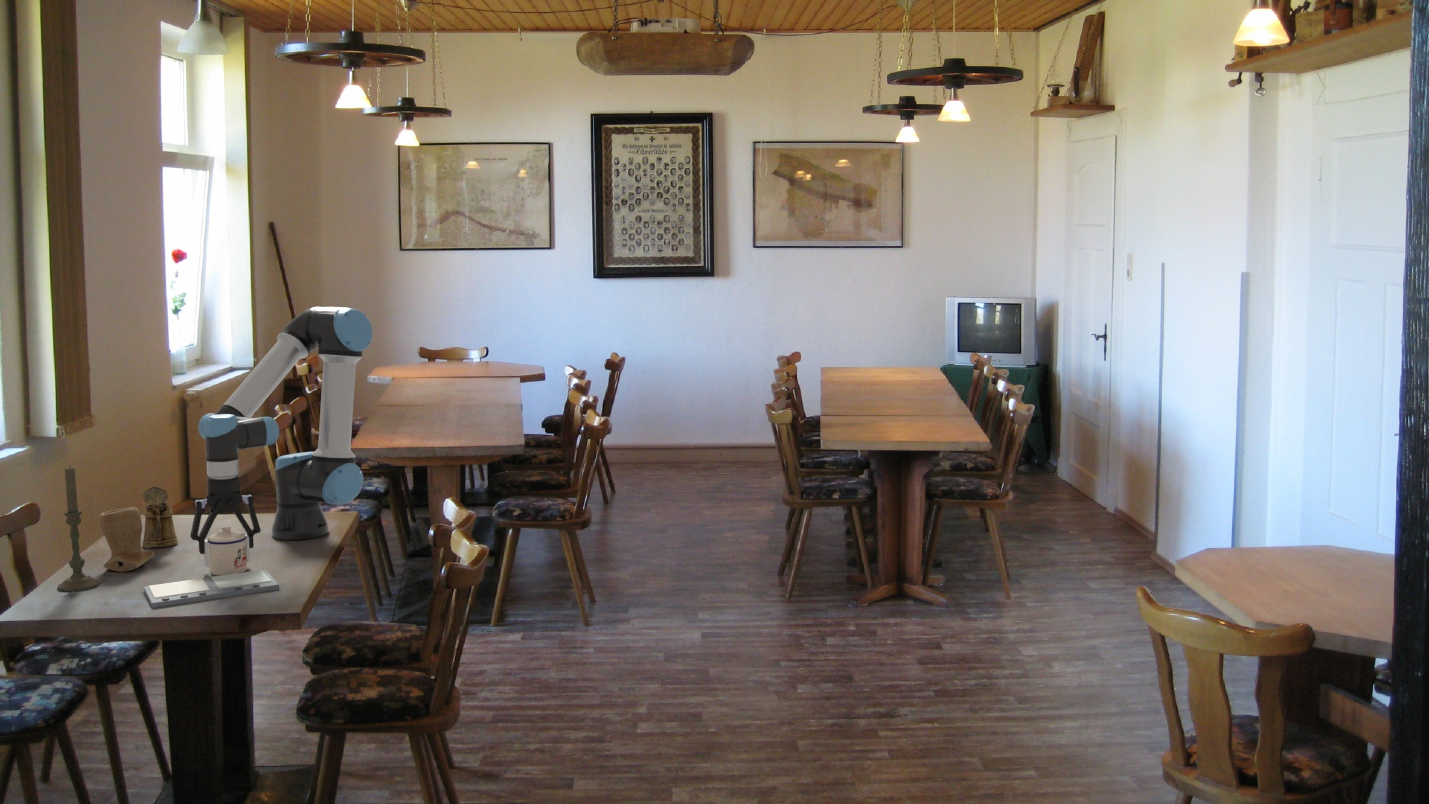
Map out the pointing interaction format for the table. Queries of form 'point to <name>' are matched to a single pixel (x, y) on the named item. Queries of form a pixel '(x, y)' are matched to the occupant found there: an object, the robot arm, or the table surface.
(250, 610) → the table surface
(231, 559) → the teacup with lid
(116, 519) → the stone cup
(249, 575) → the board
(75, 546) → the candlestick holder
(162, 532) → the wooden mug
